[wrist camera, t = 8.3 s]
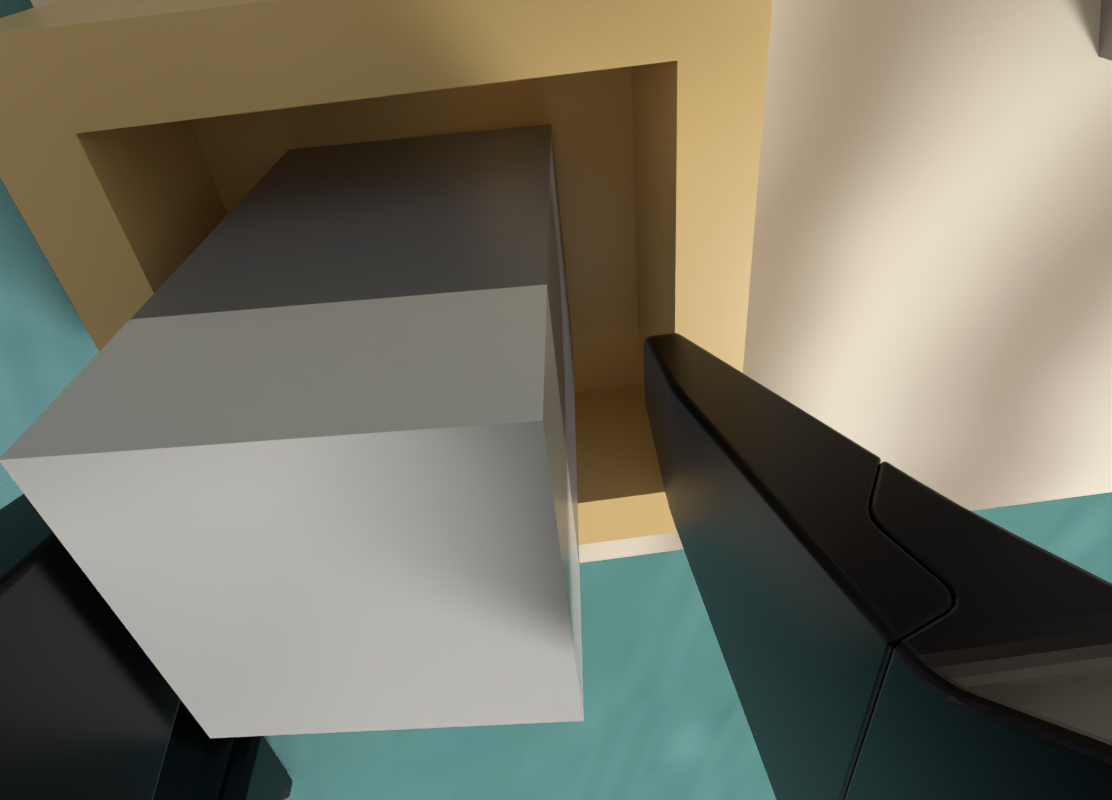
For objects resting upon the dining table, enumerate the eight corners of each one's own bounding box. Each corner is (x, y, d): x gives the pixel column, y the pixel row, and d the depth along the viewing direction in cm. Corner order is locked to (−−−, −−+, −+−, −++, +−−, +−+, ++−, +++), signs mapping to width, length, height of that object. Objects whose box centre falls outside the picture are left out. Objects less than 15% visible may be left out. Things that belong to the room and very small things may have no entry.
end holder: (282, 452, 15) (236, 590, 12) (84, -8, 10) (-77, 42, 7) (681, 400, 15) (730, 525, 12) (690, -80, 10) (777, -60, 7)
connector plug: (357, 367, 13) (209, 739, 8) (288, 149, 11) (-2, 460, 5) (573, 349, 13) (584, 720, 7) (551, 124, 11) (543, 420, 5)
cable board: (319, 573, 18) (313, 598, 18) (-711, -1714, 5) (-905, -1975, 4) (1185, 458, 19) (1210, 478, 18) (2612, -1963, 5) (2922, -2229, 4)
